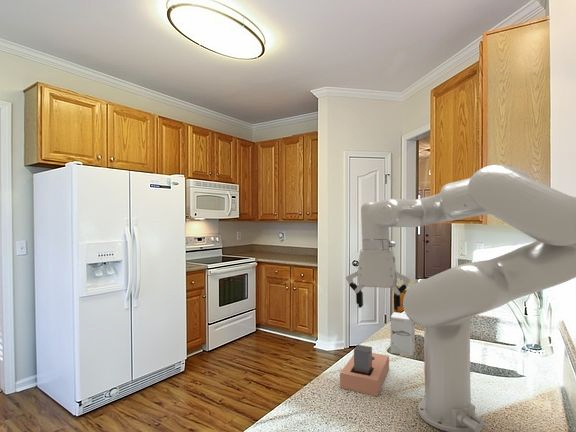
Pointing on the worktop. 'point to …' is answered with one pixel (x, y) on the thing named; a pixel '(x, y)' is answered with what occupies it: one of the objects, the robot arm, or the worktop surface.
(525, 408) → the worktop surface
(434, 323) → the robot arm
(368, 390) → the bore block
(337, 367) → the worktop surface
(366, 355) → the square peg
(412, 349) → the supplement box
